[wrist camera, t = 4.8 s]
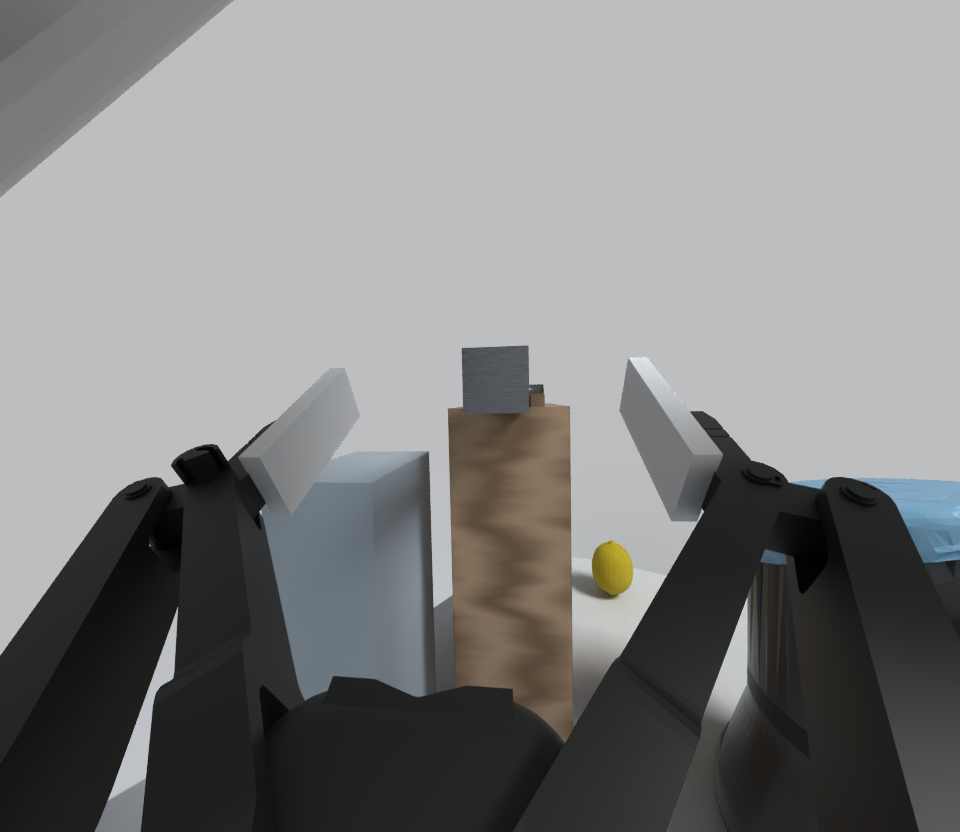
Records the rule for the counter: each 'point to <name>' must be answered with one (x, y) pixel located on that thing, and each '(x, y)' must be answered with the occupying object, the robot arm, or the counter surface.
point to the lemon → (612, 568)
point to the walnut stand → (513, 555)
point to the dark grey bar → (496, 380)
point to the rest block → (359, 573)
